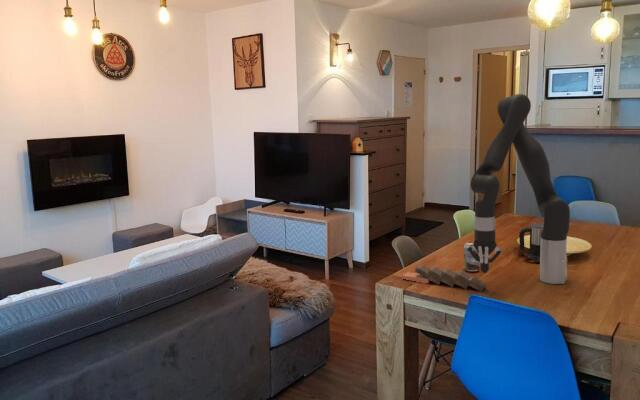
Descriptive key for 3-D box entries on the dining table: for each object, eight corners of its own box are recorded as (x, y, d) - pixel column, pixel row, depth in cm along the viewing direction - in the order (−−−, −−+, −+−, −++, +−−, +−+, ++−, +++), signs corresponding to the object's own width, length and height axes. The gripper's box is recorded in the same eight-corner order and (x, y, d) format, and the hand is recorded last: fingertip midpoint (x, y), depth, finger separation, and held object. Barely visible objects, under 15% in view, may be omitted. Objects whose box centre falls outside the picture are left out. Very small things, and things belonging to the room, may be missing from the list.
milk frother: (547, 253, 237) (547, 222, 234) (561, 263, 221) (562, 230, 219) (515, 254, 237) (516, 223, 235) (528, 264, 222) (528, 231, 219)
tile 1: (486, 283, 196) (460, 269, 201) (482, 287, 192) (456, 273, 197) (484, 287, 197) (458, 274, 202) (480, 291, 193) (454, 277, 198)
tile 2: (472, 281, 199) (446, 267, 204) (467, 284, 195) (442, 271, 200) (470, 285, 200) (444, 271, 205) (465, 289, 196) (440, 275, 201)
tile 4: (445, 277, 205) (421, 264, 210) (440, 280, 201) (416, 267, 206) (443, 281, 206) (419, 268, 211) (438, 285, 202) (414, 271, 207)
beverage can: (469, 273, 213) (469, 246, 211) (460, 269, 220) (460, 242, 218) (482, 271, 215) (482, 244, 213) (473, 267, 222) (473, 240, 220)
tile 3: (458, 279, 202) (434, 265, 207) (454, 282, 198) (429, 269, 203) (456, 283, 203) (432, 270, 208) (452, 287, 199) (427, 273, 204)
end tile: (432, 275, 208) (407, 271, 214) (427, 279, 204) (402, 275, 210) (432, 280, 208) (407, 276, 214) (427, 284, 204) (402, 280, 210)
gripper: (464, 228, 191) (464, 272, 194) (500, 231, 183) (500, 277, 186) (470, 224, 197) (470, 267, 200) (505, 227, 190) (505, 271, 193)
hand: (484, 272), depth 193 cm, fingers closed
